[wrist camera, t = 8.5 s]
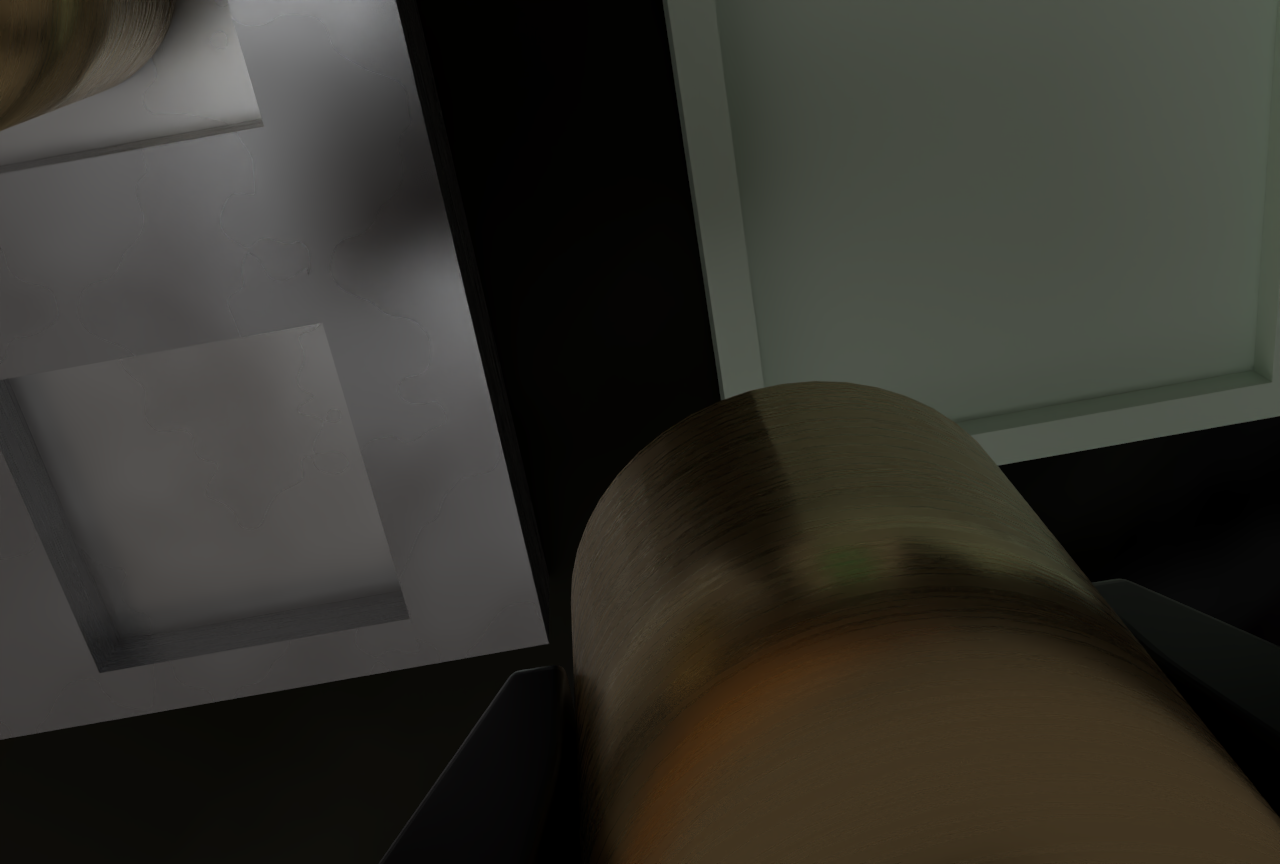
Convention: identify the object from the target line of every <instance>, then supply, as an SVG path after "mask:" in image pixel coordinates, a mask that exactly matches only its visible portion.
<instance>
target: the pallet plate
mask: <svg viewBox="0 0 1280 864" xmlns="http://www.w3.org/2000/svg"><path fill="white" fill-rule="evenodd" d="M549 582H550V578H549V574H548V569H547V565H546V561H545V556H544V552H543V548H542V543H541V539H540V535H539V530H538V526H537V522H536V517H535V513H534V509H533V504H532V500H531V496H530V491H529V487H528V483H527V478H526V474H525V470H524V465H523V461H522V457H521V452H520V448H519V444H518V439H517V435H516V431H515V426H514V422H513V418H512V413H511V409H510V405H509V400H508V396H507V392H506V387H505V383H504V379H503V374H502V370H501V366H500V361H499V357H498V353H497V348H496V344H495V340H494V335H493V331H492V327H491V322H490V318H489V314H488V310H487V305H486V301H485V297H484V292H483V288H482V284H481V279H480V275H479V271H478V266H477V262H476V258H475V253H474V249H473V245H472V240H471V236H470V232H469V227H468V223H467V219H466V214H465V210H464V206H463V201H462V197H461V193H460V188H459V184H458V180H457V175H456V171H455V167H454V162H453V158H452V154H451V149H450V145H449V141H448V136H447V132H446V128H445V123H444V119H443V115H442V110H441V106H440V102H439V97H438V93H437V89H436V84H435V80H434V76H433V71H432V67H431V63H430V58H429V54H428V50H427V45H426V41H425V37H424V32H423V28H422V24H421V19H420V15H419V11H418V6H417V2H416V0H176V3H175V8H174V11H173V15H172V19H171V22H170V25H169V27H168V29H167V32H166V34H165V36H164V39H163V40H162V42H161V43H160V45H159V47H158V48H157V50H156V51H155V53H154V54H153V55H152V57H151V58H150V59H149V60H148V61H147V62H146V64H145V65H144V66H143V67H142V68H141V69H139V70H138V71H137V72H136V73H135V74H134V75H132V76H131V77H130V78H128V79H127V80H125V81H123V82H122V83H120V84H118V85H117V86H115V87H112V88H110V89H108V90H105V91H103V92H101V93H98V94H96V95H93V96H90V97H88V98H85V99H83V100H80V101H77V102H75V103H72V104H70V105H67V106H64V107H62V108H59V109H57V110H54V111H52V112H49V113H46V114H44V115H41V116H39V117H36V118H33V119H31V120H28V121H26V122H23V123H20V124H18V125H15V126H13V127H10V128H8V129H5V130H2V131H0V740H1V739H6V738H12V737H18V736H23V735H29V734H35V733H41V732H46V731H52V730H58V729H63V728H69V727H75V726H81V725H86V724H92V723H98V722H103V721H109V720H115V719H121V718H126V717H132V716H138V715H143V714H149V713H155V712H161V711H166V710H172V709H178V708H183V707H189V706H195V705H200V704H206V703H212V702H218V701H223V700H229V699H235V698H240V697H246V696H252V695H258V694H263V693H269V692H275V691H280V690H286V689H292V688H298V687H303V686H309V685H315V684H320V683H326V682H332V681H337V680H343V679H349V678H355V677H360V676H366V675H372V674H377V673H383V672H389V671H395V670H400V669H406V668H412V667H417V666H423V665H429V664H435V663H440V662H446V661H452V660H457V659H463V658H469V657H475V656H480V655H486V654H492V653H497V652H503V651H509V650H514V649H520V648H526V647H532V646H537V645H543V644H549Z"/></svg>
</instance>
